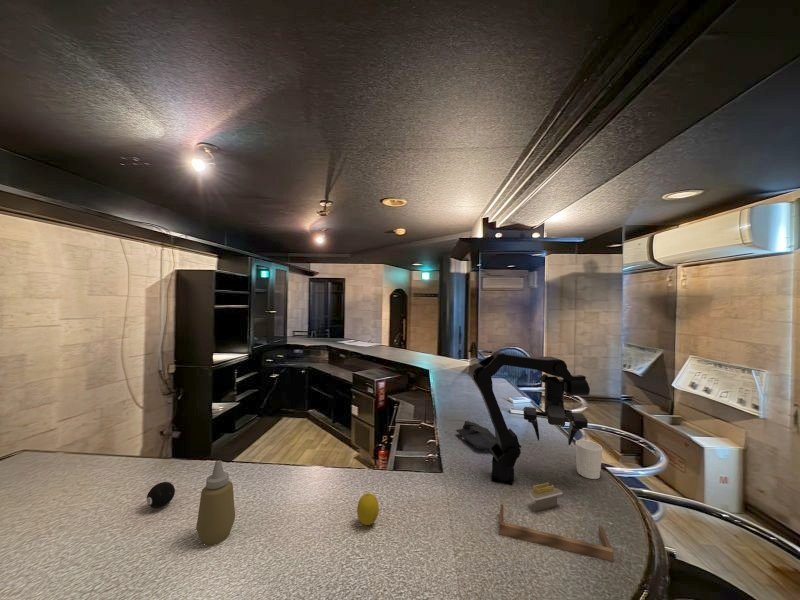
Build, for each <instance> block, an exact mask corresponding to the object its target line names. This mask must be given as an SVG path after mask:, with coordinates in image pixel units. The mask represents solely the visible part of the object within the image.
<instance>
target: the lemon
mask: <svg viewBox="0 0 800 600" xmlns="http://www.w3.org/2000/svg"><path fill="white" fill-rule="evenodd" d="M379 506H380V505H379V500H378V499H377V497H376V496H375V495H374V494H373V493H370V492H367V493H364V494H363V495H362V496H361V497H360V498H359V499H358V503H357V507H356V513H357V518H358V520H359V522H360V523H361V524H362V525H365V526H369V525H372V524H373V523H375V522H376V520H377V519H378V515H379V510H380V509H379V508H380V507H379Z"/></svg>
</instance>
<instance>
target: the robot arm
mask: <svg viewBox="0 0 800 600" xmlns="http://www.w3.org/2000/svg"><path fill="white" fill-rule="evenodd" d="M504 366H508V367H509V366H510V367H515V368H523V369H529V370H536V371H539V372H543V374H542V375H540V377H538V378H537V379H538V381H540V382H541V383H544V411H537V408H536V407H531V406H524V407H523V411H522V412H523V414H522V415H523V420H525V421H527V422H528V423H530V424H531V425H532V427H533V428H534V432H535V435H536V438H537V441H540V429H539V424H538V418H539V419H540V418H542V419H547V423H548V425H550V426H551V425H552V426H554V425H555V426H560V427H565V426H566V423H569V425H568V435H567V436H568V438H567V445H568V446H571V445H572V442H573V439H574V438H575V435H576V434H577V432H578V431H580V430H583V429H584V428H585V429H587V428H589V425H588V423H589V421H588V419H587V417H586V416H585V415H584V413H581V412H580V413H579V412H573V411H572V410H571V409H565V406H564V405H565V403H564V402H565V401H564V400H565V399H564V397H565V395H567V396H568V397H588V396H589V395H590V391H591V387H590V385H589V383H588V381H587V379H586V376H585V375H583V374H576V375H572V373H571V372H570V371H569V370H568V366H567V363H566V362H565V360H562V359H559V358H557V357H554V356H551V355H550V356H538V357H533V356H525V355H520V354H519V355H518V354H512V353H506V352H502V351H495V352H493V353H492V354H491V355H489V356H488V357H486V358H483V359H482V360H480V361H479V362H477V363H473V364H471V366H470V367H469V369H468V374H469V377H470V378H471V380H472V382H473V383H474V385H475V387H476V388H477V389H478V391H479V392H480V395H481V397H482V399H483V402H484V406H485V407H486V410H487V413H488V416H489V419H490V421H491V423H492V426H493V428H494V436H495V438H496V443H495V444H494V445H493V446H492V447H491V448H490V449H489V451H490V454H491V455H492V458H491V478H490V479H491V482H493V483H498V484H504V485H507V486H513V482H514V481H515V464H516V462H517V460H518V459H519V458H520V456H521V454H522V451H521V448H522V445H520V441H519V437H518V435H517V434H516V433H515V432H514V431H513V430H512V429H511V428H508V426H507V424H506V421H505V418H504V416H503V414H502V411H501V410H502V409H500V405H499V403H498V401H497V397H496V395H495V393H494V390H493V387H494V386H493V379H492V377H493V376H494V375H495V374H497V372H499V370H500V369H501V368H502V367H504ZM547 374H548V375H547ZM549 375H550V376H549ZM560 378H561V379H560Z"/></svg>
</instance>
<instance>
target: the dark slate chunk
mask: <svg viewBox="0 0 800 600" xmlns="http://www.w3.org/2000/svg"><path fill="white" fill-rule="evenodd" d="M455 432H456V433H457V434H459V435H460V436H461V437H462V438H463V439H464V440H467V441H468V443H469V444H471V445H472V446H473V447H474V448H476V449H478V450H490V448H491V447H492V446H493V445H494V444H495V443H496V438H495V434H493V433H492V432H491V430H489V429H488V428H487V427H483V426H482V425H479V424H478V423H476V422H472V421H469V420H465V421H464V423H463V425H462V428H460V429H456V431H455Z"/></svg>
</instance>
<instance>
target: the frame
mask: <svg viewBox="0 0 800 600" xmlns="http://www.w3.org/2000/svg"><path fill="white" fill-rule="evenodd" d="M498 533H499V535H501V536H504V537H508V538H512V539H518V540H522V541H525V542H530V543H534V544H538V545H543V546H547V547H551V548H554V549H559V550H564V551H569V552H572V553H574V554H575V553H576V554H579V555H583V556H588V557H592V558H596V559H600V560H605V561H610V562H614V551H613V548H612V546H611V544H610V543H611V542H609V539H608V536H607V534H606V532H605V530H604V527H603V526H600V525H598V538H599V540H600V542H601V545H599V544H594V543H593V542H592V543H591V542H587V541H584V540H578V539H574V538H570V537H567V536H563V535H558V534H554V533H551V532H545V531H541V530H538V529H534V528H529V527H526V526H521V525H519V524H518V525H517V524H513V523H509V522H506V521H504V504H503V503H500V507H499V530H498Z"/></svg>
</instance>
